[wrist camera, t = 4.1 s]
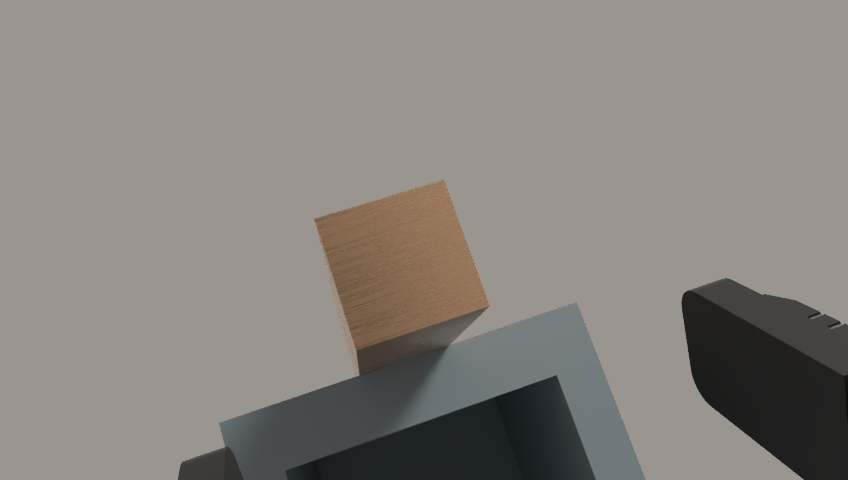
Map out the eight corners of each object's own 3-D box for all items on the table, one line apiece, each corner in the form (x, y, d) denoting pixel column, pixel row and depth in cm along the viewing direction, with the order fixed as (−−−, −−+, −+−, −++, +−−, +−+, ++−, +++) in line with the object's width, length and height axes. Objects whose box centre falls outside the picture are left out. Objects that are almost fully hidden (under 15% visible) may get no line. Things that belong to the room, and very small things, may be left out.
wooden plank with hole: (489, 305, 16) (443, 178, 16) (356, 350, 15) (313, 216, 16) (416, 376, 39) (398, 322, 40) (362, 395, 38) (344, 340, 39)
